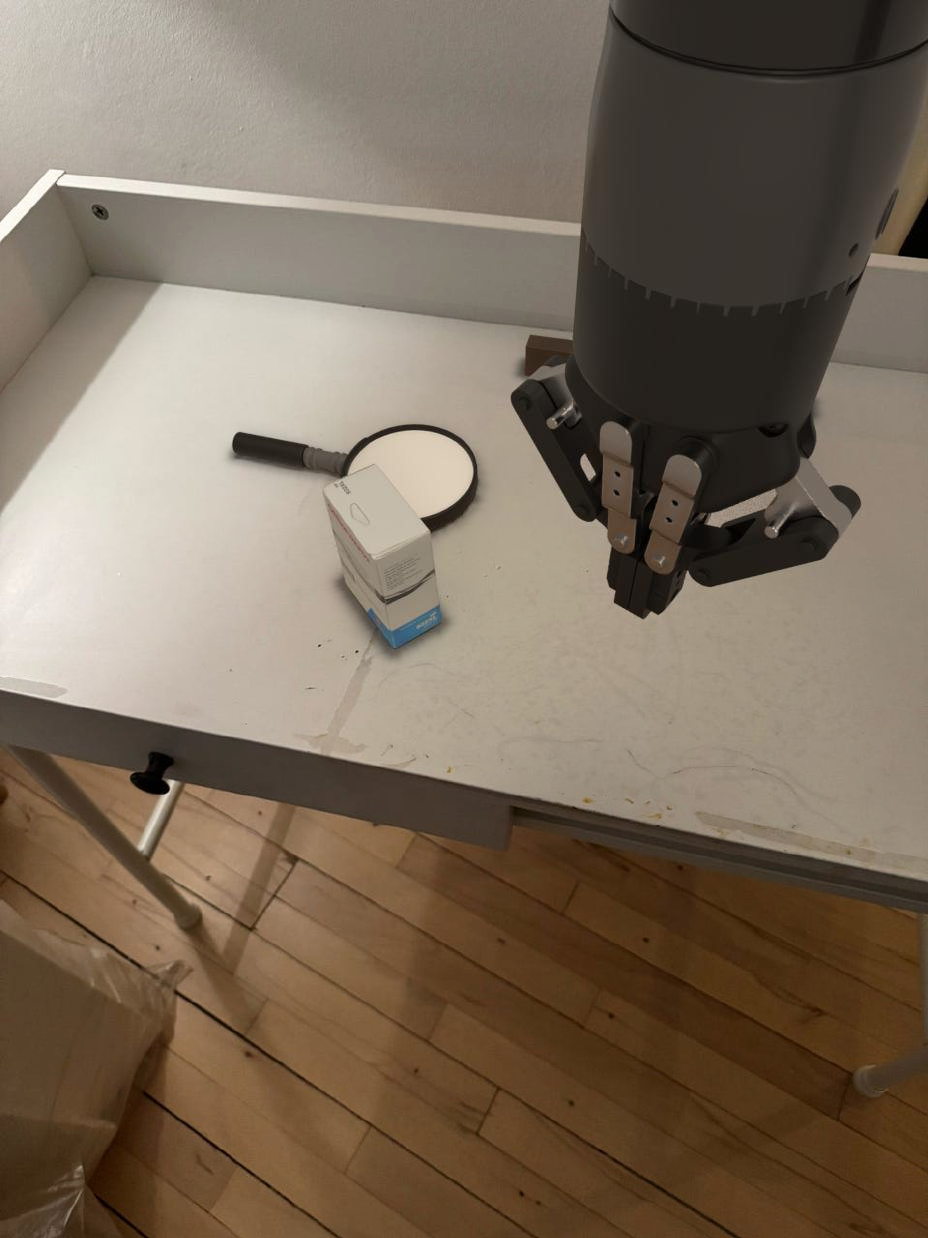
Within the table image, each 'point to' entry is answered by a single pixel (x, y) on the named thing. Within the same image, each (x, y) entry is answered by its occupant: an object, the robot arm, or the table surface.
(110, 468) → the table surface
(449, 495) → the magnifying glass
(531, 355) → the brown rectangular bar
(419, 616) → the ink box
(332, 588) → the table surface
